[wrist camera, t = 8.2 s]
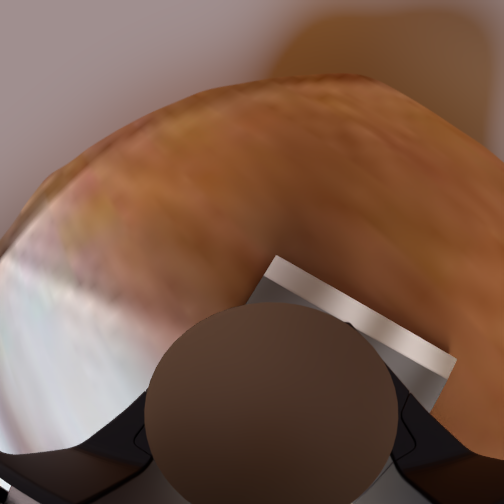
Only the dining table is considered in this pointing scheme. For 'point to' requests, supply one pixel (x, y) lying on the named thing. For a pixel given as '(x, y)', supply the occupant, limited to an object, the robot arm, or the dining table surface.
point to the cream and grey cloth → (362, 328)
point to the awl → (271, 409)
